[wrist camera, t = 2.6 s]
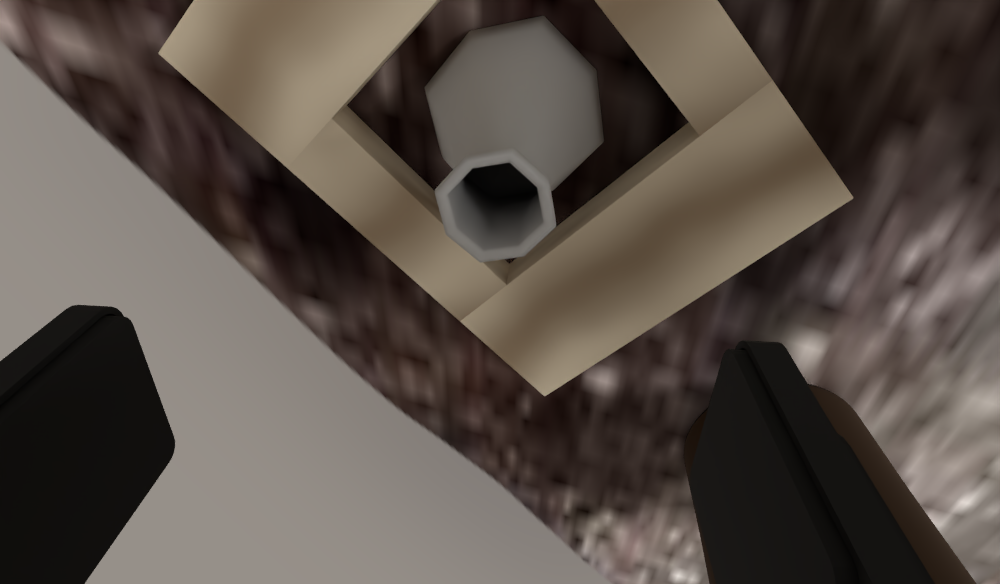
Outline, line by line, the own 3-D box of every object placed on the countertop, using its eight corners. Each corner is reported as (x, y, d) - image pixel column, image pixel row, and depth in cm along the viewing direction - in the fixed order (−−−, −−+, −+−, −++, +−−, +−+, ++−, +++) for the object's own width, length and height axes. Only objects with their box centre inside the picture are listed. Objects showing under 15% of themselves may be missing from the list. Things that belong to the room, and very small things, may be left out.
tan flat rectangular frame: (833, 179, 24) (853, 198, 23) (544, 371, 31) (544, 396, 29) (462, -354, 17) (452, -385, 15) (186, 44, 24) (158, 53, 22)
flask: (554, -23, 21) (555, 6, 13) (632, 147, 25) (674, 261, 16) (394, 76, 24) (306, 156, 15) (484, 221, 27) (453, 354, 18)
